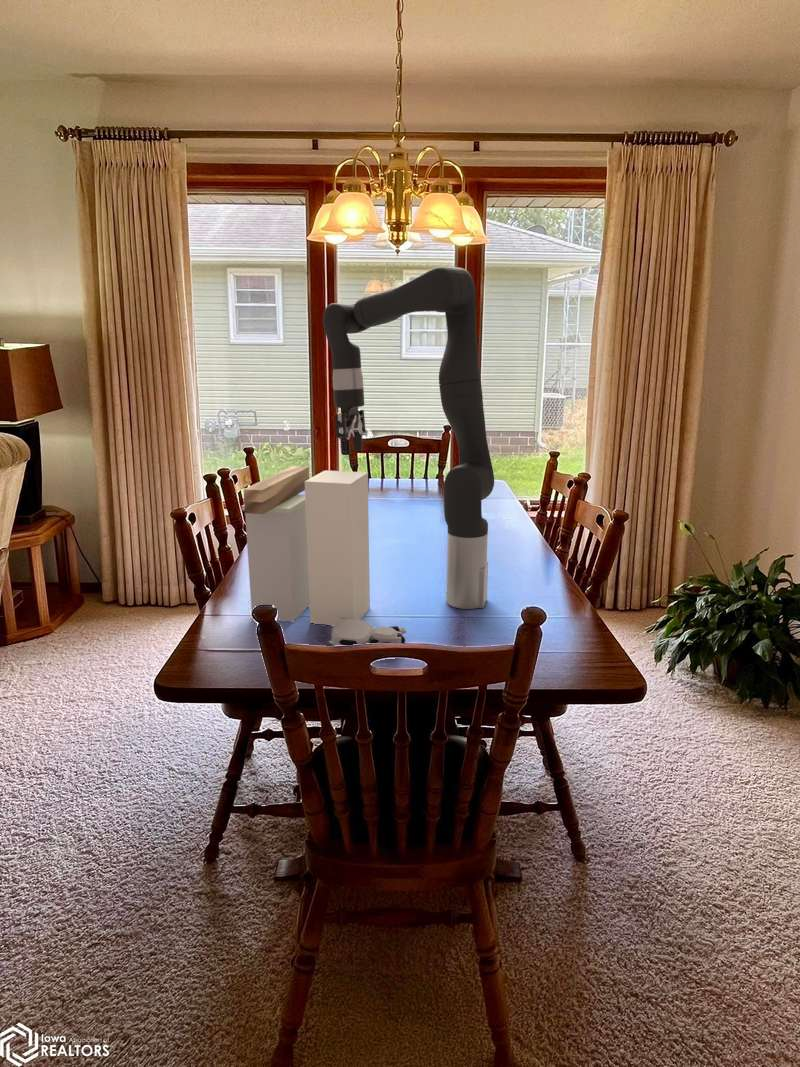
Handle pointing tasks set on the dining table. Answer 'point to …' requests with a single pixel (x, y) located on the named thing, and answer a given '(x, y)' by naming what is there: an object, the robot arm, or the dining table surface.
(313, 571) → the tall stand
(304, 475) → the wooden bar
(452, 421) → the robot arm
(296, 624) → the dining table surface
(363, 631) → the robot toy
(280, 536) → the low stand
